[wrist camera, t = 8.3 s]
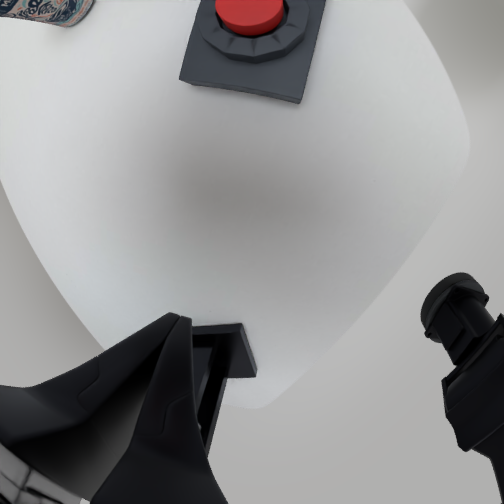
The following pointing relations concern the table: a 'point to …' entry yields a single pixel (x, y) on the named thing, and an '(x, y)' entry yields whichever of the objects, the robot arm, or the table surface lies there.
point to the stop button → (250, 15)
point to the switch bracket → (217, 370)
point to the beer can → (46, 10)
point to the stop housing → (254, 52)
